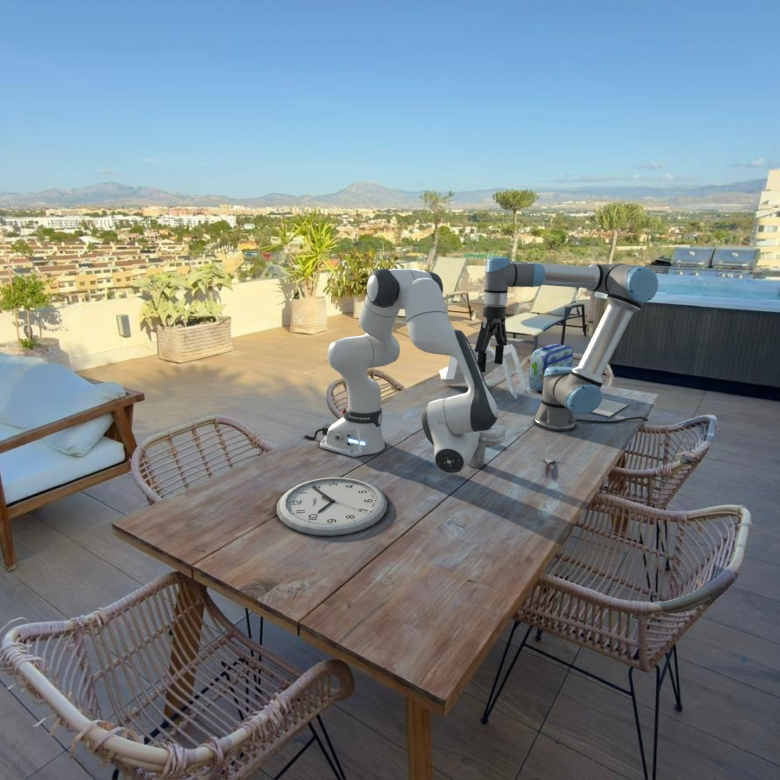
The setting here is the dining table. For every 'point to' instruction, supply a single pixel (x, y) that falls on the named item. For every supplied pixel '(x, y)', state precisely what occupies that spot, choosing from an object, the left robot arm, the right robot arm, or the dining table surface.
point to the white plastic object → (456, 376)
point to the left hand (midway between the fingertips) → (472, 420)
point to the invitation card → (609, 407)
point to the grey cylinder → (478, 456)
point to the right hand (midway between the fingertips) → (489, 367)
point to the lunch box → (548, 362)
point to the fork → (548, 462)
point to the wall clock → (331, 506)
